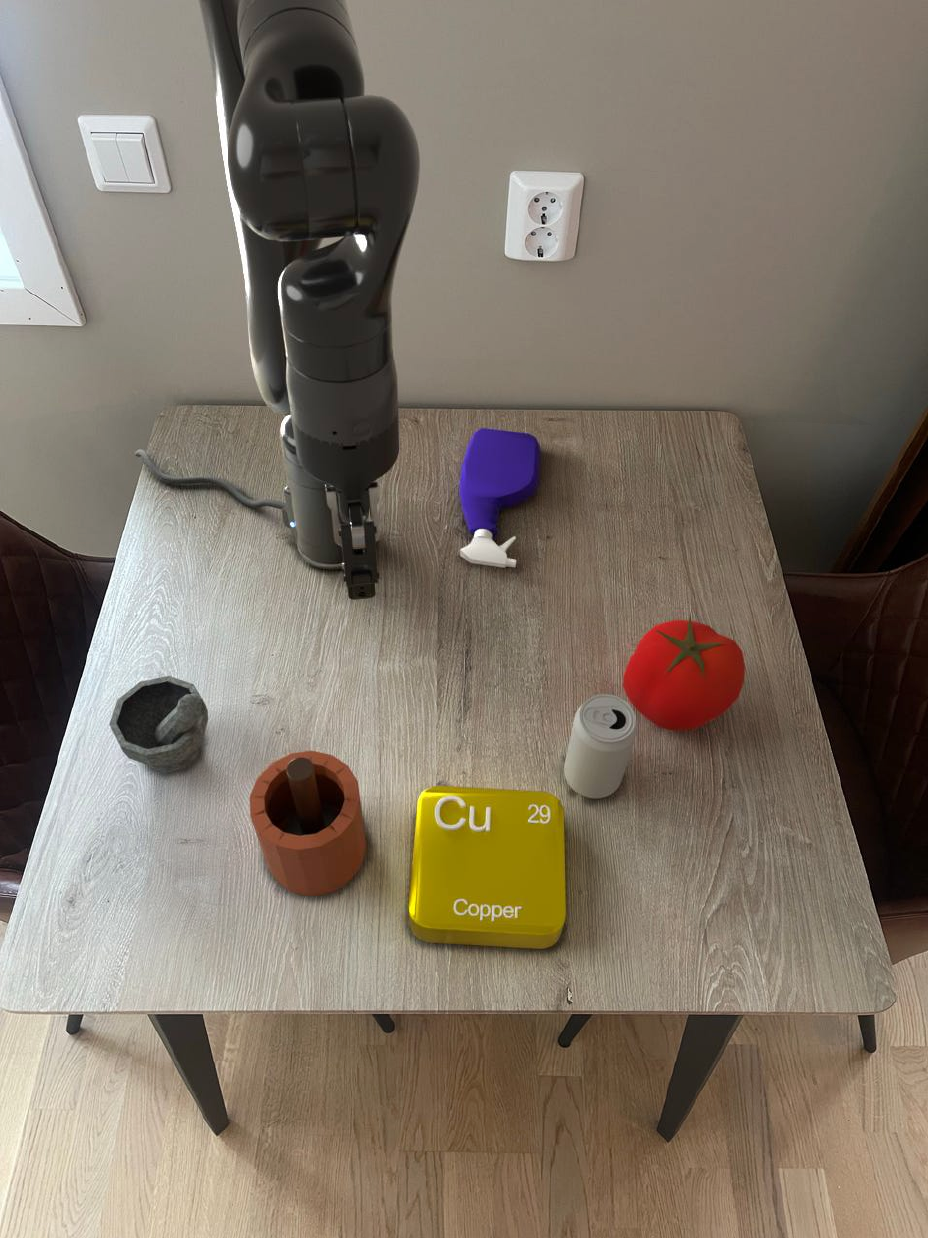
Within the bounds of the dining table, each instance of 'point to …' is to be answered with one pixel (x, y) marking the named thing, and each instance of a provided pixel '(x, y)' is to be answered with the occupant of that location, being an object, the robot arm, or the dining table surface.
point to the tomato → (684, 675)
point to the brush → (306, 800)
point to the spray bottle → (495, 488)
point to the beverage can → (600, 745)
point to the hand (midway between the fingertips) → (357, 556)
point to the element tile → (488, 868)
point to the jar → (312, 857)
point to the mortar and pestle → (160, 723)
